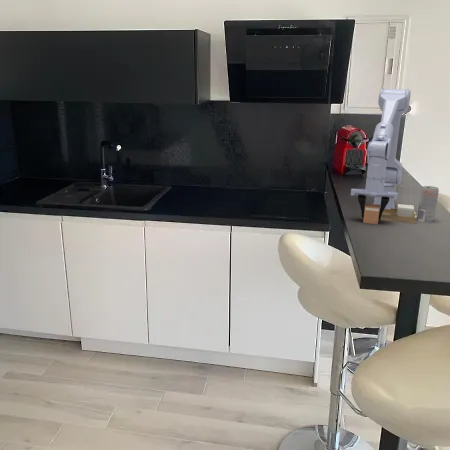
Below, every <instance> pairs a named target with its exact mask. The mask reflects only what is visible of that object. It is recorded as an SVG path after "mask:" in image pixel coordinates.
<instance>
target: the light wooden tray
mask: <svg viewBox="0 0 450 450" xmlns="http://www.w3.org/2000/svg"><path fill="white" fill-rule="evenodd" d="M379 212H380V210H379ZM417 217H418V216H417V212H416V211H414V212H413V217H407V216H398V214H397V208H396V207H395V208H391V209H384V211H383V213H382V215H381V219H380V220H379V221H387V222H396V223H404V224H414V225H416V224H417Z"/></svg>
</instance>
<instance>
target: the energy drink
mask: <svg viewBox="0 0 450 450" xmlns="http://www.w3.org/2000/svg"><path fill="white" fill-rule="evenodd" d="M439 192H440V191H439V187H436V186H431V185H424V186H422V187H421V190H420V197H419V203H418V211H417V216H416V217H417V219H416V221H418V222H421V223H427V224H428V223H429V224H430V223H431V224H432V223H434V222H435V217H436V210H437V205H438V199H439Z"/></svg>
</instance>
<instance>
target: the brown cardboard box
mask: <svg viewBox="0 0 450 450" xmlns="http://www.w3.org/2000/svg"><path fill="white" fill-rule="evenodd" d="M379 210H380V205H379V204H373V203H366V202H365V211H364V218H363V220H362V221H363V224H373V225H378V224H379V220H378V218H379Z"/></svg>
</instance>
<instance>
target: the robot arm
mask: <svg viewBox="0 0 450 450" xmlns="http://www.w3.org/2000/svg"><path fill="white" fill-rule="evenodd" d="M377 99H378V103H377V104H378V107H379V108H380V111H381V112H382V114H381V118H380V119H381V120H380V122H378V124H376V125H375V129H374V133H373V136H372V139H371V141H369V142H368V145H367V150H366V151H367V152H366V153H367V161H366V164H367V171H366V180H365V181H366V182H365V188H351V189H350V196H357V201H358V204H359V207H360V211H361V212H360V213H361V218H362V219H364V211H365V205H366V199H367V197H369V198H370V197H371V198H374V200H373V201H374V202H373V203H372V204H379V205H380V212H379V218H378V221H381V220H380V219H381V215H382V213H383V211H384V209H391V208H395V209H396V207H395V206H396V205H395V200H398V194H399V193H398V192H397V191H396V190H397V186H399V185H400V184H401V182H402V180H403V179H402V178H403V163H401V162H400V161H399V160H398V159H397V158H396V157H397V150H398V142H399V133H400V124H401V119H402V116H403V114H406V113H408V111H409V108H410V101H411V89H409V88H405V89H404V88H401V89H400V88H381V89H380V90H379V93H378V98H377Z"/></svg>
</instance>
